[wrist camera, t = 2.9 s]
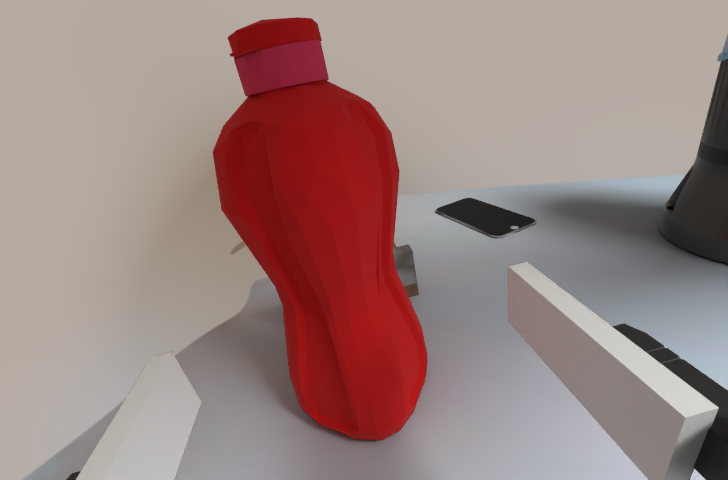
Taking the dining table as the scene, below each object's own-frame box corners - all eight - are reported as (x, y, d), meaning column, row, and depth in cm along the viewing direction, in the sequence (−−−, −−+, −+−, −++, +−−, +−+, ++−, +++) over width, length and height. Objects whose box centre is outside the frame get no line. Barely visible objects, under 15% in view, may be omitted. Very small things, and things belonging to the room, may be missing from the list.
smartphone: (497, 238, 43) (432, 209, 56) (497, 243, 43) (433, 213, 56) (540, 220, 45) (469, 196, 58) (540, 225, 46) (469, 200, 58)
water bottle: (443, 341, 29) (406, 7, 18) (401, 465, 20) (285, -27, 10) (353, 325, 33) (281, 47, 23) (287, 421, 25) (122, 47, 14)
